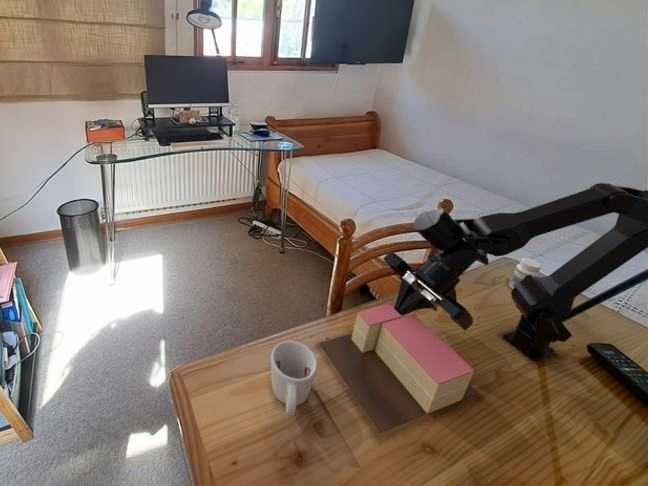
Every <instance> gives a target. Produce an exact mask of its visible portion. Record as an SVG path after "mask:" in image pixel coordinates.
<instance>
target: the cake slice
mask: <svg viewBox="0 0 648 486" xmlns="http://www.w3.org/2000/svg"><path fill="white" fill-rule="evenodd" d="M400 318H403V316H401V315H400V314H399V313H398V312H397V311H396V310H395V309H394V307H393V306H392V305H391V304H390V303H386V304H383V305H378V306H375V307H371V308H367V309H363V310H359V311H357V312H356V317H355V322H354V325H353V330H352V333H353V334H352V333H351V334H352V338H351V339H352V340H353V342H354V343H355V344H356V345H357V347H358V348H359V349H360V350H361V352H362V353H364V352H367V351H371V350H374V349H376V345H377V341H378V337H379V334H380V330H381V327H382V323H385V322H389V321H392V320H396V319H400Z"/></svg>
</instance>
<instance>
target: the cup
mask: <svg viewBox="0 0 648 486" xmlns="http://www.w3.org/2000/svg"><path fill="white" fill-rule="evenodd" d="M270 355H271V356H270V375H271V378H270V379H271V388H272V392H273V393H274V395H275V397H276V398H277V400H279V401H280V402H281V403H283V404H285V413H286V415H287V416H291V417H292V416H295V414H296V411H297V406H299V405H302V404H303V403H304V402H305V401H306V400H307V399H308V396H309V394H310V392H311V389H312V387H313V383H314V381H315V378H316V375H317V372H318V361H317V358H316V355H315V354H314V352H313V351H312V349H310V348H309V347H308V346H306V345H305V344H303V343H301V342H300V341H295V340H285V341H282V342H279V343H277V344H276V345H275V346H274V347H273V348H272V351H271V354H270Z"/></svg>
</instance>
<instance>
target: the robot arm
mask: <svg viewBox="0 0 648 486" xmlns="http://www.w3.org/2000/svg"><path fill="white" fill-rule="evenodd" d="M614 213H615V214H618V215H617V219H616V222H615V224H614V226H613V227H612V228H611V229H610V230H608V231H606V233H604V234H602V235H601V236H599V238H597V239H596V240H595V241H593V242H592V243H591V244H589V245H588V246H587V247H585V248H584V249H583V250H581V251H580V252H579V253H576V255H575V256H573V257H572V258H570V259H569V260H568V261H566V262H565V263H564V264H562V265H561V266H559V267H558V268H557V269H556V270H554V271H552V273H550V274H549V275H547V276H539V278H534V277H533V276H532V275H527V276H526V277H525V278H524V279H523V280H522V281H520V282H519V283H516V284H514V287H515V288H514V289H511V291H510V295H511V296H510V297H511V300H512V301H513V303H514V304H515V307H516V309H517V310H518V311H519V312H520V313H521V315H520V318H519V319H518V322H517V323H516V325H515V328H514V330H513V331H510V332H507V333H504V334H503V335H502V337H503V338H504V339H505V340H506V341H507V342H509V343H510V344H511V345H512V346H514V347H515V348H517V349H518V350H519V351H520V352H522V353H523V354H525V356H527V357H528V358H529V359H531V360H532V361H535V362H537V361H540V360H542V359H544V358H547V357H550V356H552V355H555V352H556V350H555V349H553V348H552V347H550V346H551V344H552V343H556V342H562V343H564V342H567V341H568V340H569V339H570V338H571V337H572V336H573V334H572V333H571V331H570V330H569V329H568V328H567V326H566V325H565V324H564V323H563V322H562V321H563V320H564V319H566V318H567V317H568V316H569V315H570V314H571V311H572V308H573V305H574V301H575V299H576V297H578V296H579V295H581V294H582V293H583V292H585V291H587V290H588V289H590V288H591V287H593V286H594V285H595V284H597V283H598V282H600V281H601V280H602V279H604V278H606V277H607V276H608V275H610V274H611V273H613V272H614V271H616V270H617V269H619V268H620V267H622V266H623V265H624V264H626V263H627V262H628V261H630V260H632V259H633V258H634V257H636V256H638V255H639V254H640V253H642V252H643V251H645V250H646V249H648V190H647V189H645V190H641V189H638V188H633V187H629V186H619V185H614V184H611V183H608V182H607V183H606V182H605V183H604V182H599V183H595V184H593V185H591V186H590V187H589V188H587V189H585V190H582V191H578V192H576V193H573V194H569V195H567V196H563V197H561V198H558V199H555V200H552V201H549V202H546V203H543V204H540V205H537V206H533V207H531V208H528V209H525V210H521V211H519V212H497V213H492V214H487V215H482V216H479V217H477V218H462V219H461V218H460V219H453V218H452V217H451V215H450V214H449V213H448V211H447V210H446V208H444V207H441V208H439V209H438V210H437V209H436V210H435V209H433V210H432V209H431V210H428V211H423V212H422V213H421V214H419V215H418V216H417V217H416V218H415V220H414V222H413V223H412V227H413V229H414V230H415V231H417V233H418V234H419V235H420V236H421V237H422V238H423V239H424V240H425V241H426V242H427V243H428V244H429V245H430V246H431V247H432V249H433V248H434V249H436V250H437V252H436V253H435V254H433V253H429V255H427V259H428V261H426V262H425V263H424V264H423V265H422V266H420V268H419V267H415V268H414V269H412V268H411V266H410V265H409V264H408V263H407V261H405V260H404V259H403V258H401V257H400V256H399V255H398V254H396V253H395V252H388V253H387V254H386V255H385V256H384V257H382V260H383V261H384V262H385V263H386V264H387V265H388V266H389V267H390V269H391V270H392V271H393V272H394V273H396V274H397V275H398V279H399V280H400V284H399V285H400V287H399V291H398V295H397V298H396V301H395V303H394V307H393V308H394V309H395V310H396V311H397V312H398V313H399V314H400V315H401V316H402V317H404V316H406V315H408V314H410V313H413V312H415V311H419V310H423V309H432V310H433V311H434V312H437V311H438V307H440V308H441V309H442V310H444V311H445V312H446V313H447V314H448V315H450V316H449V317H450V320H452V321H453V322H454V323H455V324H456V325H458V326H459V328H461V329H462V330H463V331H467V330H468V329H469V328H470V327H471V326H472V325H473V323H474V317H473V316H472V315H471V313H470V312H469V311H468V310H467V308H466V307H465V306H464V305H462V304H460V303H459V302H458V301H457V291H456V287H457V286H458V284H459V283H460V282H461V279H460V277H461V276H462V275H463V274H464V273H465V272H466V271H467V270H468V269H469V268H470V267H472V265H473V264H475V262H476V261H477V262H479V263H481V264H483V265H485V266H488V265H489V257H488V255H490V256H494V257H503V256H506V255H509V254H511V253H514V252H516V251H518V250H520V249H523V248H524V247H525V246H526V245H527V244H529V242H530V241H531V240H532V239H534V238H536V237H538V236H541V235H545V234H548V233H551V232H554V231H558V230H562V229H564V228H568V227H571V226H574V225H577V224H580V223H583V222H587V221H590V220H594V219H597V218H600V217H603V216H607V215H611V214H614ZM420 290H421V292H420Z"/></svg>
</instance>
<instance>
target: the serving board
mask: <svg viewBox="0 0 648 486" xmlns="http://www.w3.org/2000/svg"><path fill="white" fill-rule="evenodd" d="M352 334H353V332H352V333H349V334H345V335H341V336H338V337H334V338H331V339H327V340H323V341H320V342H318V344H319V346H320V347H321V349H322V350H323V352H324V354H325V355H326V356H327V358H328V360H329V361H330V362H331V364H332V365H333V366H334V368H335V369H336V371H337V373H338V374H339V375H340V377H341V378H342V380H343V381H344V383H345V384H346V386H347V387H348V389H349V390H350V392H351V393H352V394H353V396H354V397H355V399H356V400H357V402H358V403H359V405H360V406H361V408H362V409H363V411H364V412H365V413H366V415H367V417H368V418H369V420H370V421H371V422H372V424H373V426H374V428H376V430H377V431H378V433H379V434H381V433H384V432H386V431H388V430H391V429H394V428H396V427H398V426H401V425H403V424H406V423H409V422H411V421H414V420H416V419H418V418H422V417H424V416H426V415H428V414H431V413H434V412H436V411H437V410H435V411H433V412H430V413H428V414H427V413H426V412H425V410H424V409H423V408H422V407H421V406H420V404H419V403H418V402H417V401H416V400H415V398H414V397H413V396H412V395H411V394H410V392H409V391H408V390H407V389H406V388H405V386H404V385H403V384H402V383H401V382H400V380H399V379H398V378H397V377H396V376H395V374H394V373H393V372H392V371H391V370H390V368H389V367H388V366H387V365H386V364H385V363H384V361H383V360H382V359H381V358H380V357H379V355H378V354H377V353H376V352H375V349H374V350H371V351H367V352H364V353H362V352H361V350H360V349H359V348H358V347H357V345H356V344H355V343H354V342H353V340H352V339H351V338H352ZM477 394H478V392H477V391H476V390H475V388H473V387H472V386H471V385H469V384H468V387H467V389H466V391H465V393H464V395H463V398H462V400H460V401H463V400H465V399H468V398H471V397H473V396H476V395H477ZM460 401H459V402H460ZM456 403H457V402H455V403H454V404H456ZM451 405H452V404H450V405H449V406H451ZM446 407H447V406H445V407H444V408H446ZM441 409H442V408H440V409H439V410H441Z"/></svg>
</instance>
